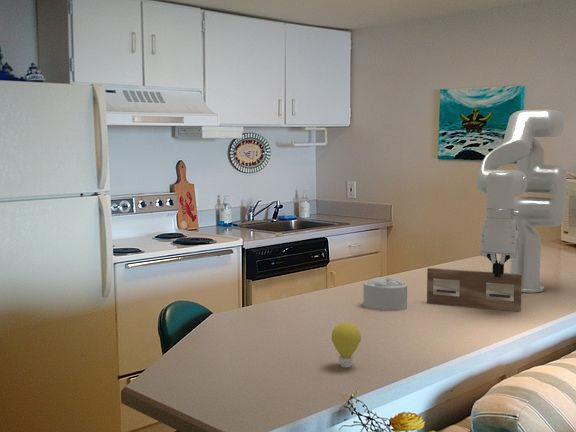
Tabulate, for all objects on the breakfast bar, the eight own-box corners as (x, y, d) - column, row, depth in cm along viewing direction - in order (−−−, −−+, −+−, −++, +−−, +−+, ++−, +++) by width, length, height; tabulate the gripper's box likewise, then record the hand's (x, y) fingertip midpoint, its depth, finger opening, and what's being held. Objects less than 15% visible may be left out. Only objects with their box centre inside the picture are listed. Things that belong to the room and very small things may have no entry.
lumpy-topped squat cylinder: (374, 300, 222) (374, 274, 221) (412, 305, 215) (413, 278, 214) (359, 307, 213) (360, 279, 212) (399, 312, 206) (399, 284, 205)
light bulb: (329, 361, 161) (329, 319, 160) (357, 360, 161) (358, 318, 160) (333, 371, 154) (333, 327, 153) (363, 370, 155) (363, 326, 154)
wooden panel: (427, 302, 219) (428, 267, 218) (520, 310, 207) (521, 274, 206) (426, 303, 217) (427, 268, 216) (520, 311, 206) (521, 275, 205)
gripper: (528, 214, 201) (526, 276, 203) (475, 212, 207) (474, 272, 209) (525, 216, 194) (523, 281, 196) (471, 214, 200) (469, 277, 202)
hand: (498, 276), depth 203 cm, fingers closed
